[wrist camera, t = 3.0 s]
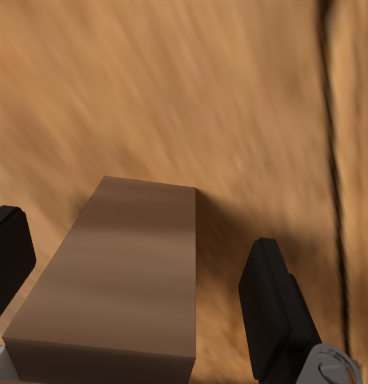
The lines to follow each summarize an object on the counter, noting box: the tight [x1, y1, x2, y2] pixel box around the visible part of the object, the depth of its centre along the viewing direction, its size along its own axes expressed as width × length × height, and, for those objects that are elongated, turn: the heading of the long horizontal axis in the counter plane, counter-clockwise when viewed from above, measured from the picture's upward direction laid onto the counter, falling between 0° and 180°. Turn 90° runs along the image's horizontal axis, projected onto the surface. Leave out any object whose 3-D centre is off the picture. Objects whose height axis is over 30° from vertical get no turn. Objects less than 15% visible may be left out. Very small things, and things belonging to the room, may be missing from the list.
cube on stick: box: [2, 176, 196, 384], centre depth 14 cm, size 20×4×7 cm, turn 173°
